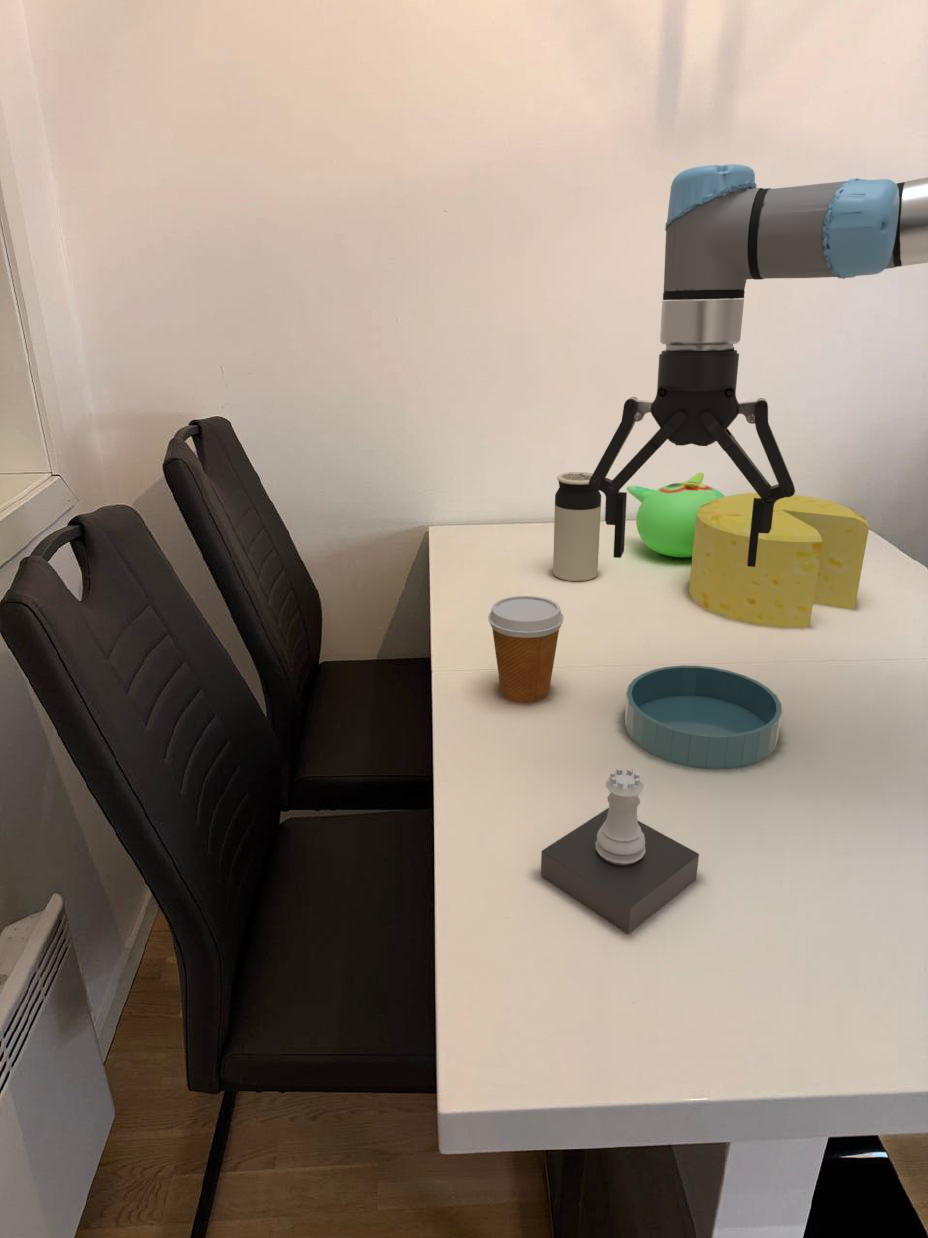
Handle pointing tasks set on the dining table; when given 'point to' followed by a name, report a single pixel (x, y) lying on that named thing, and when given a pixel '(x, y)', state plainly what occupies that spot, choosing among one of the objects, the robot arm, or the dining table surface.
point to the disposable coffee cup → (525, 645)
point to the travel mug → (576, 528)
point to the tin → (702, 717)
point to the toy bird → (671, 515)
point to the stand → (619, 874)
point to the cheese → (777, 559)
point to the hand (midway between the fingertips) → (683, 559)
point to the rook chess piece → (622, 821)
